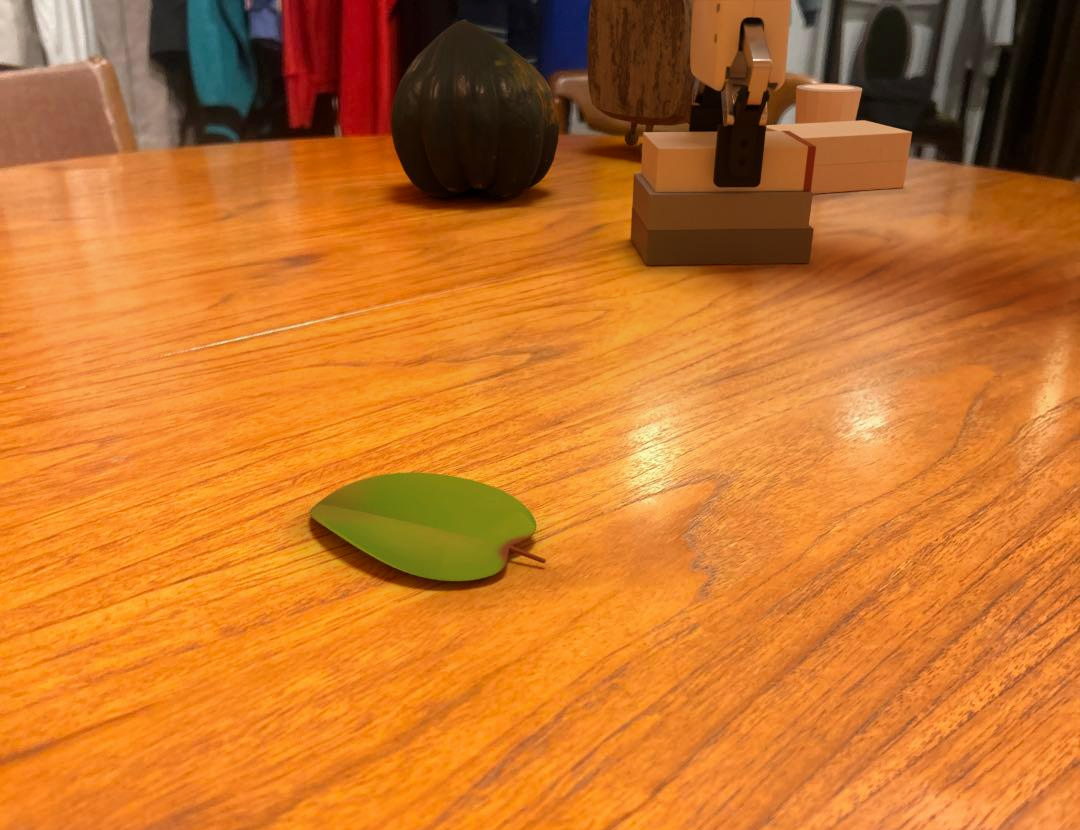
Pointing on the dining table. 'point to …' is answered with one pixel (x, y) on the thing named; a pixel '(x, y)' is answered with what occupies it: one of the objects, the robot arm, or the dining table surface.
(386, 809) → the dining table surface
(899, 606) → the dining table surface
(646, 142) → the tan box
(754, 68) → the robot arm
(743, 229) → the brown box
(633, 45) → the tabletop clock
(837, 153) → the orange lidded box
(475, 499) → the decorative leaf
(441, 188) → the squash
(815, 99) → the tapered cup
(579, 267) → the dining table surface
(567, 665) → the dining table surface
